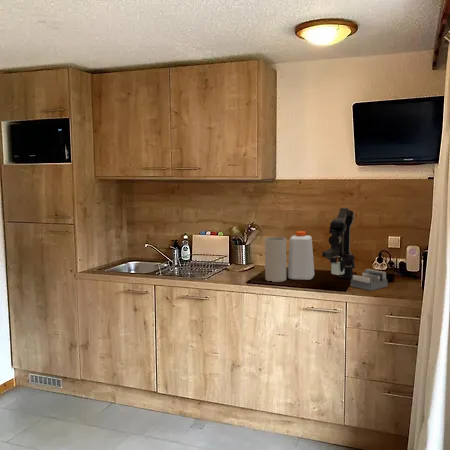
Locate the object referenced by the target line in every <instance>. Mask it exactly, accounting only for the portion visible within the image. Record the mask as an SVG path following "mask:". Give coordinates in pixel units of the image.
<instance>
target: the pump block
mask: <svg viewBox="0 0 450 450" xmlns="http://www.w3.org/2000/svg"><path fill="white" fill-rule="evenodd" d="M330 265H331V266H330V267H331V270H330V271H331V272H330V273H331V274H332V275H335V276H339V275H340V276H341V274H344V270H343V272H341V270H340V262H338V261H337V262H334V263H331V262H330Z"/></svg>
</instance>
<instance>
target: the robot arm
mask: <svg viewBox="0 0 450 450" xmlns="http://www.w3.org/2000/svg"><path fill="white" fill-rule="evenodd" d="M354 220H355V213H354V211H353V210H351V209H350V208H348V207H340V208H339V210H338V215H337V216H336V218H334V219H332V220H331V222H330V223H329V224H330V226H329V232H328V233H329V234H331V236H329V238H328V243H329V245H330V248H329V249H327V250H325V251H322V253H321V256H322V257H324V258H326V259H327V260H328V261H329V262H330V264H331V263H334V262H340V270H341V272H343V270H344V274H341V275H340V276H338V278H340V279H344V280H349V279H350V280H351V279H353V275H354V270H353V269H356V265H355V264H356V263H355V255H354V254H352V251H351V227H352V226H353V224H354Z"/></svg>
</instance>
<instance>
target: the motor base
mask: <svg viewBox="0 0 450 450" xmlns="http://www.w3.org/2000/svg"><path fill="white" fill-rule="evenodd" d="M350 287H354V288H358V289H362V290H365V291H371V292H372V291H375V290H379V289H380V290H381V289H383V288H387V287H388V279H387V272H386V271H382V270H376V269H372V268H366V269H364V272H362V273H361V275H357V274H353V278H350Z"/></svg>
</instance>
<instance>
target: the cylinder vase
mask: <svg viewBox="0 0 450 450" xmlns="http://www.w3.org/2000/svg"><path fill="white" fill-rule="evenodd" d="M264 270H265V271H264V275H265V278H264V279H265V281H267V282H269V281H272V282H271V283H282V282H285V281H286V280H287V239H286V237H282V236H271V237H270V236H269V237H266V238H265V237H264Z"/></svg>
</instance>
